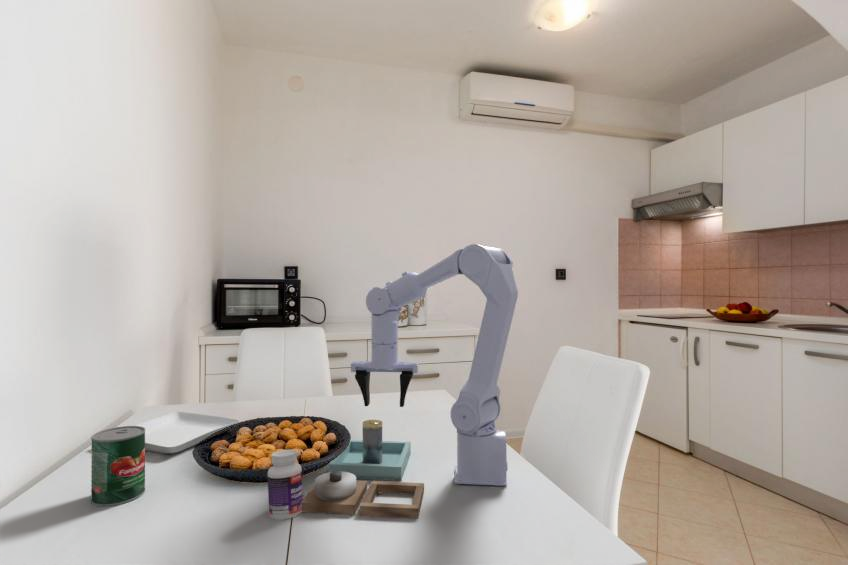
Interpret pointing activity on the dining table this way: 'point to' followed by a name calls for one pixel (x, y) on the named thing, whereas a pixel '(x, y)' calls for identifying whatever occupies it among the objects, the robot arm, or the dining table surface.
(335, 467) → the tray
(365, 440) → the tin can
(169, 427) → the salad plate
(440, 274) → the robot arm
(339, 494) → the block
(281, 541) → the dining table surface
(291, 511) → the pill bottle
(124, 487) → the canned tomato
